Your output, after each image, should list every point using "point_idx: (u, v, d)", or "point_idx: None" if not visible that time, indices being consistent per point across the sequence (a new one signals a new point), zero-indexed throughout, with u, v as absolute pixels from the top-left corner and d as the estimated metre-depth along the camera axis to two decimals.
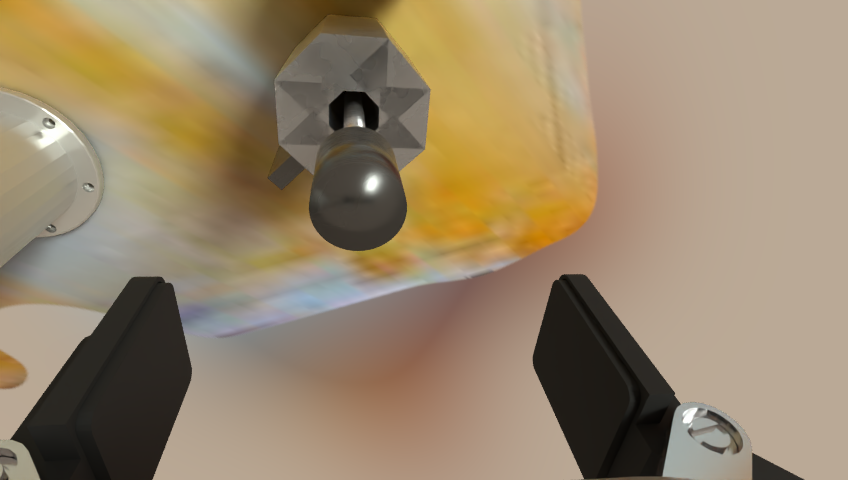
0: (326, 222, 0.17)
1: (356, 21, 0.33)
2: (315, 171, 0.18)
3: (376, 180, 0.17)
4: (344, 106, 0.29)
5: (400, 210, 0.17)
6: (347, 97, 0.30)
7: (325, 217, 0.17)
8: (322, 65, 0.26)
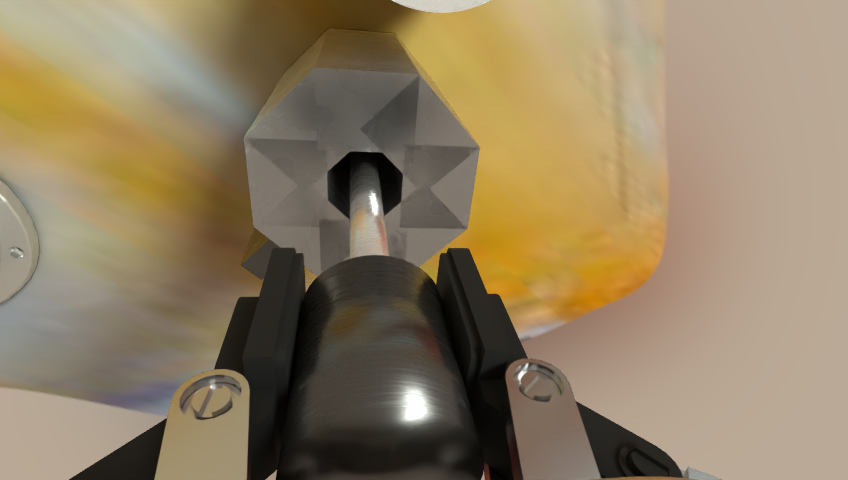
0: None
1: (367, 40, 0.23)
2: (294, 374, 0.09)
3: (423, 434, 0.08)
4: (351, 167, 0.20)
5: (470, 474, 0.08)
6: (355, 152, 0.21)
7: None
8: (317, 115, 0.17)
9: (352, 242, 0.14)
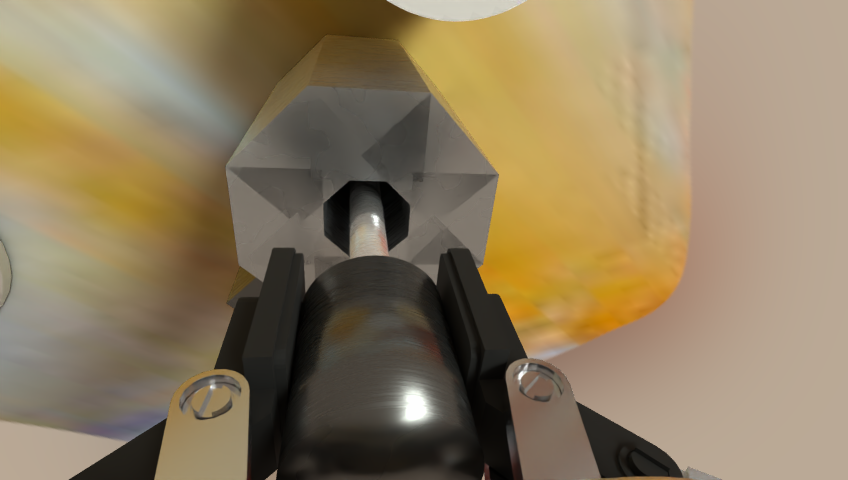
0: None
1: (369, 48, 0.21)
2: (294, 375, 0.09)
3: (424, 434, 0.08)
4: None
5: (470, 475, 0.08)
6: None
7: None
8: (311, 140, 0.15)
9: (352, 242, 0.14)
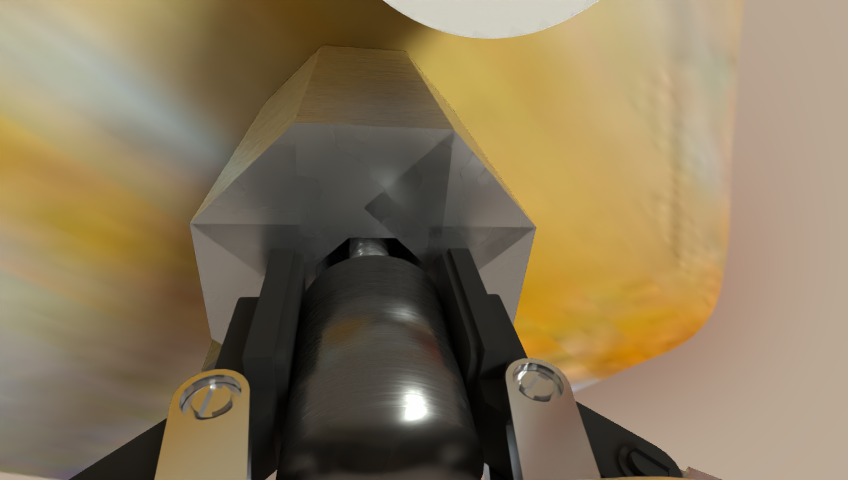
0: None
1: (372, 63, 0.18)
2: (294, 374, 0.09)
3: (423, 434, 0.08)
4: None
5: (470, 474, 0.08)
6: None
7: None
8: (300, 190, 0.11)
9: (352, 242, 0.14)
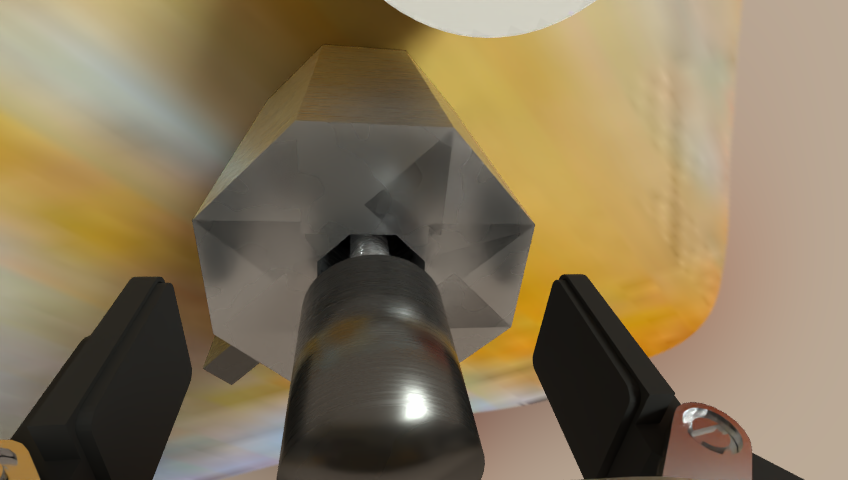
0: None
1: (373, 62, 0.18)
2: (294, 373, 0.09)
3: (424, 432, 0.08)
4: None
5: (470, 473, 0.08)
6: None
7: None
8: (302, 187, 0.11)
9: (352, 242, 0.14)
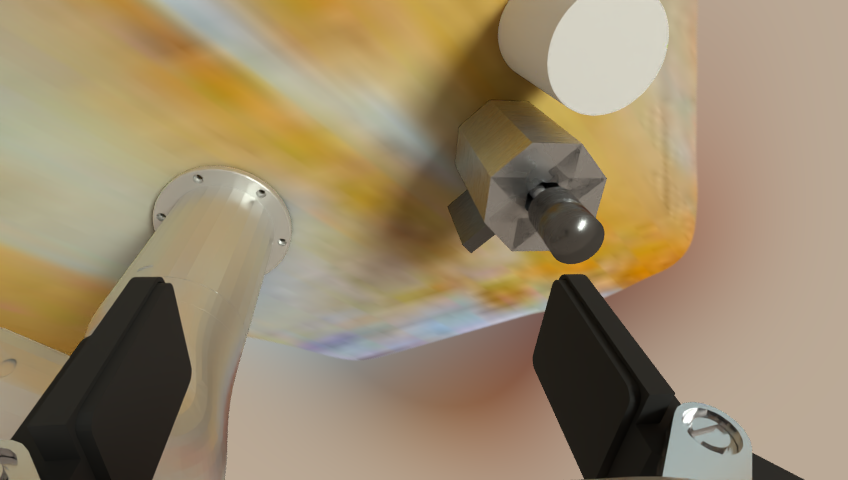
0: (558, 248, 0.30)
1: (524, 111, 0.40)
2: (545, 217, 0.31)
3: (590, 224, 0.29)
4: None
5: (599, 240, 0.30)
6: None
7: (558, 245, 0.30)
8: (529, 165, 0.33)
9: None
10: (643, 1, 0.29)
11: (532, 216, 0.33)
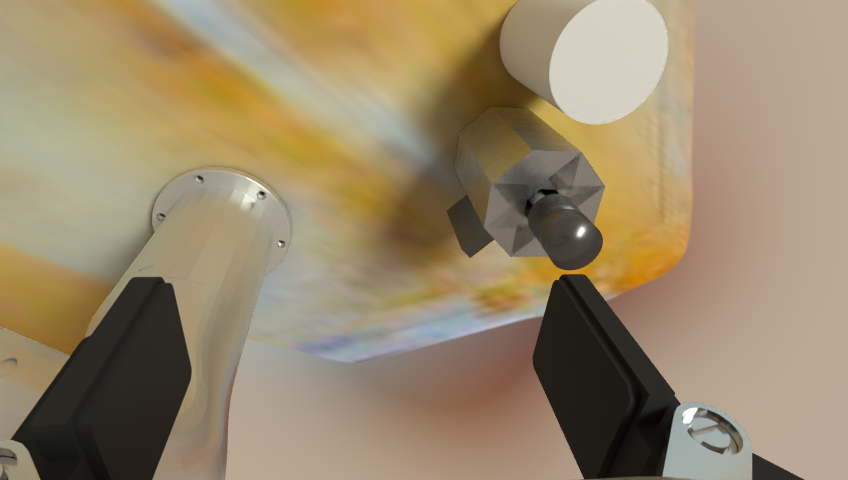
0: (557, 254, 0.31)
1: (524, 119, 0.40)
2: (545, 224, 0.31)
3: (589, 232, 0.30)
4: None
5: (598, 247, 0.31)
6: None
7: (557, 251, 0.30)
8: (529, 172, 0.34)
9: None
10: (644, 14, 0.29)
11: (532, 222, 0.33)
